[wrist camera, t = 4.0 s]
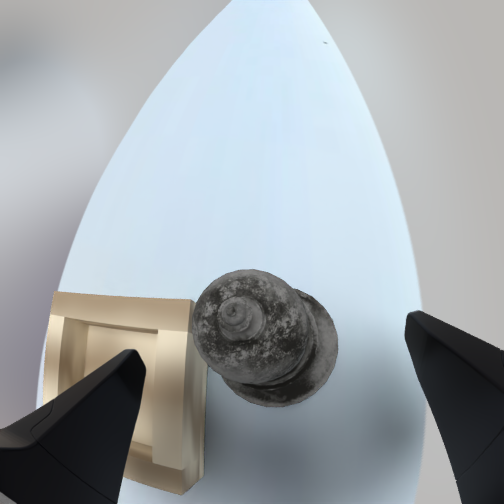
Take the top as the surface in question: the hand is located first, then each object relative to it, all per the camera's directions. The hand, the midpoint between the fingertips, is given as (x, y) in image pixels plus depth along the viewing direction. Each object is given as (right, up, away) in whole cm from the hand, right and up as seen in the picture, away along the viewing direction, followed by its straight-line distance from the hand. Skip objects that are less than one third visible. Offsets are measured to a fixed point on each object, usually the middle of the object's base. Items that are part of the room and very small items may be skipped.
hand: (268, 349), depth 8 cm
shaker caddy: (-9, -6, +8) cm, 13 cm away
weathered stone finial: (+1, -3, +8) cm, 8 cm away
